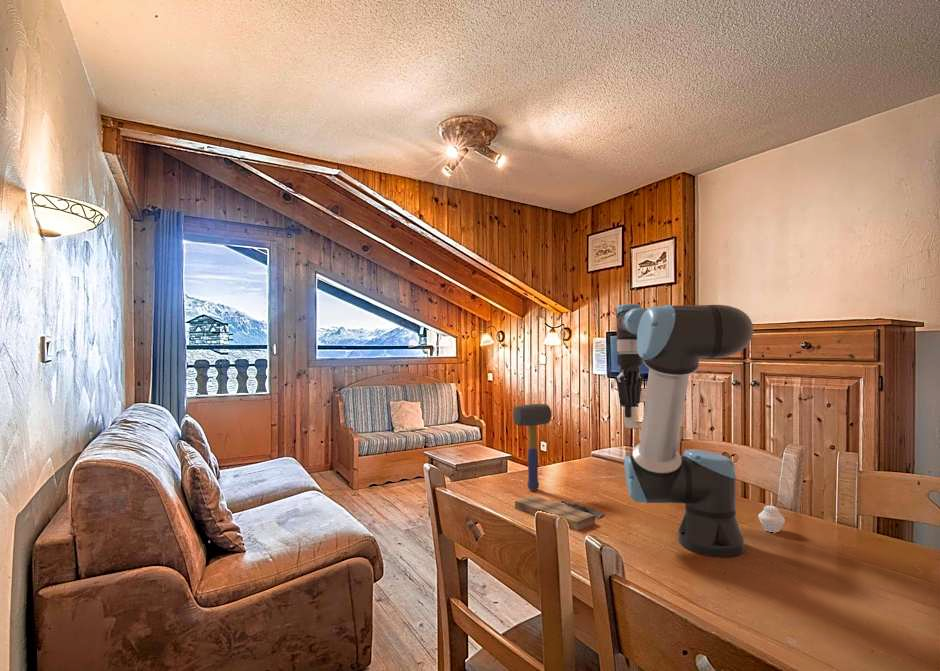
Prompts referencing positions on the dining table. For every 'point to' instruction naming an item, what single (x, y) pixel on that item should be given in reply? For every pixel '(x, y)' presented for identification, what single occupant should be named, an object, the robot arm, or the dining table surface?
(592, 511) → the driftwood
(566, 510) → the floorboard
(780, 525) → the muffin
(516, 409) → the rubber mallet
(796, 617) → the dining table surface
